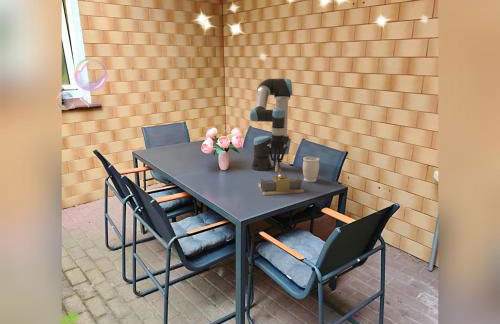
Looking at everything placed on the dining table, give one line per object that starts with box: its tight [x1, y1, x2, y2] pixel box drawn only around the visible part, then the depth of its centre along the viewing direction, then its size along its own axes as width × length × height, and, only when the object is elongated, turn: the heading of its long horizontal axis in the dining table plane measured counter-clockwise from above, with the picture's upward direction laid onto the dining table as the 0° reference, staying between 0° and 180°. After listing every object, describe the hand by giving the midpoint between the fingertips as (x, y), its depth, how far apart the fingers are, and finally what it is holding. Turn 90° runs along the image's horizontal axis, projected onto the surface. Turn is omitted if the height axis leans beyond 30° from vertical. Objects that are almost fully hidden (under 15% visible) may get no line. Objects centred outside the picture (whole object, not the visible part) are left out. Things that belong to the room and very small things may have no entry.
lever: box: [277, 165, 285, 178], centre depth 219 cm, size 18×4×2 cm, turn 3°
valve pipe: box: [260, 174, 303, 192], centre depth 214 cm, size 8×24×8 cm, turn 100°
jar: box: [302, 156, 320, 183], centre depth 231 cm, size 11×10×15 cm
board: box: [257, 182, 305, 196], centre depth 219 cm, size 18×25×1 cm
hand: (276, 171), depth 221 cm, fingers closed
